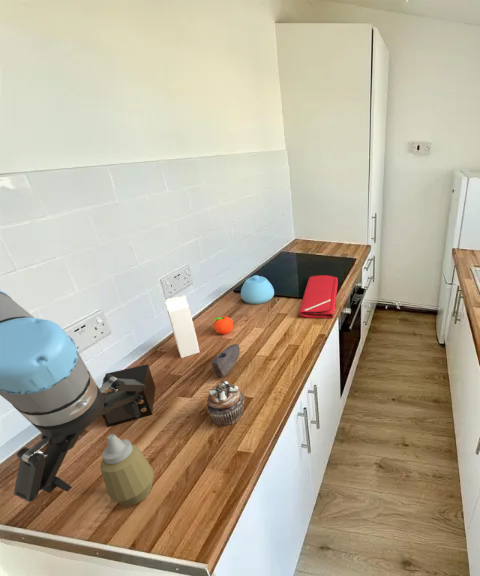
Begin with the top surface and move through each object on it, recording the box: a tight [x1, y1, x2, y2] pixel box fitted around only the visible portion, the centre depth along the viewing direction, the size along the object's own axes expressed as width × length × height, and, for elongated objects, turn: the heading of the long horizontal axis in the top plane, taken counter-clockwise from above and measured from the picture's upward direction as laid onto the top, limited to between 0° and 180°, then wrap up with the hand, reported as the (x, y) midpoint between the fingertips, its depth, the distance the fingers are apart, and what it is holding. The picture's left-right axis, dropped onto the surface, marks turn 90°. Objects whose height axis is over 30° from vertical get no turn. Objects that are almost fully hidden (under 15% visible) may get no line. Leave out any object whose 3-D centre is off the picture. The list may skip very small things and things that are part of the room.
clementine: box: [212, 315, 234, 335], centre depth 127 cm, size 8×7×7 cm
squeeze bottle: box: [100, 433, 155, 507], centre depth 68 cm, size 8×8×18 cm
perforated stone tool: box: [211, 343, 241, 379], centre depth 109 cm, size 15×5×7 cm, turn 175°
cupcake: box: [206, 380, 246, 427], centre depth 90 cm, size 10×10×10 cm
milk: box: [164, 295, 201, 359], centre depth 112 cm, size 6×6×22 cm
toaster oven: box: [101, 364, 157, 428], centre depth 91 cm, size 10×13×9 cm
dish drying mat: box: [298, 274, 339, 319], centre depth 159 cm, size 16×41×4 cm, turn 5°
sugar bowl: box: [240, 274, 275, 305], centre depth 153 cm, size 15×15×12 cm
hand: (100, 446), depth 60 cm, fingers open, 13 cm apart
